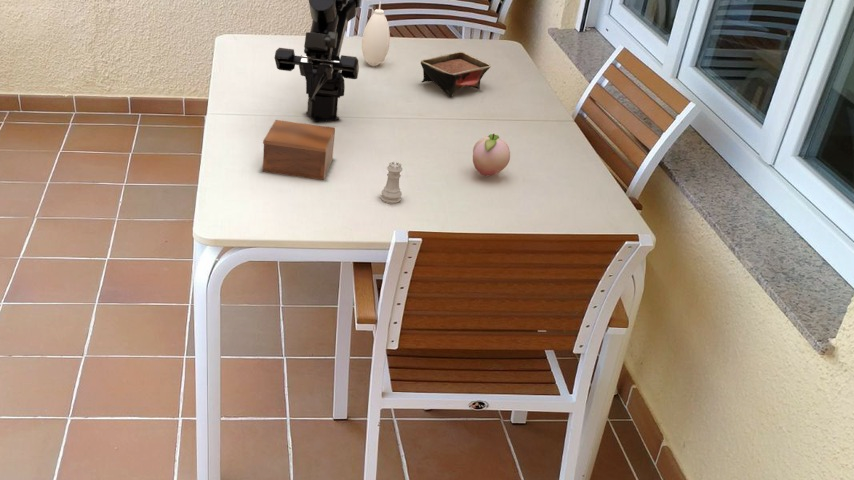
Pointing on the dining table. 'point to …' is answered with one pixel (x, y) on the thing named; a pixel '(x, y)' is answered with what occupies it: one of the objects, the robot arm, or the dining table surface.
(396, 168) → the rook chess piece
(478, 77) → the square footed planter
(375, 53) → the cream tall oval piece
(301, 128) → the bin lid
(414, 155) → the dining table surface
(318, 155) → the bin
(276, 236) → the dining table surface
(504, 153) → the decorative fruit
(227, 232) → the dining table surface
